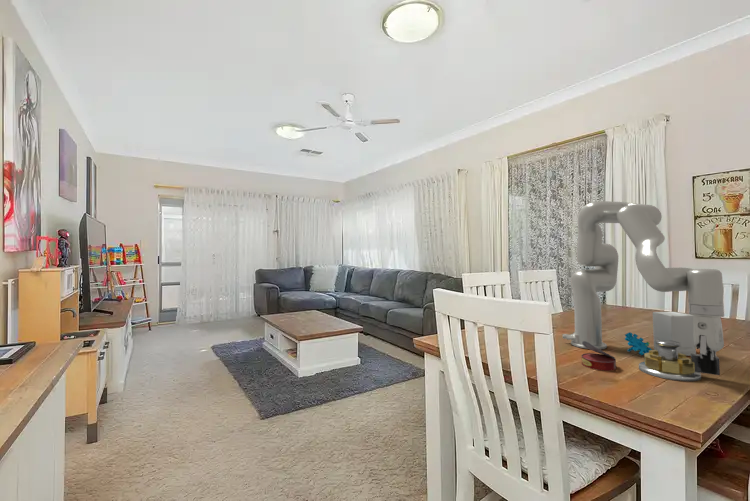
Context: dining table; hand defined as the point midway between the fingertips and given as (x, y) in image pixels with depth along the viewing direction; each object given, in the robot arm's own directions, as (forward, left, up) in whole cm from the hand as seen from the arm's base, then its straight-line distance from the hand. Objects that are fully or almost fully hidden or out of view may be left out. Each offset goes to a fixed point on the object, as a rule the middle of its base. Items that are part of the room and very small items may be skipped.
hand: (708, 372), depth 100 cm
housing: (-8, +6, -3) cm, 10 cm away
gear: (-10, +26, -3) cm, 28 cm away
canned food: (-27, +6, -3) cm, 28 cm away
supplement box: (+2, +33, -3) cm, 33 cm away
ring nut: (-5, +5, -1) cm, 7 cm away
